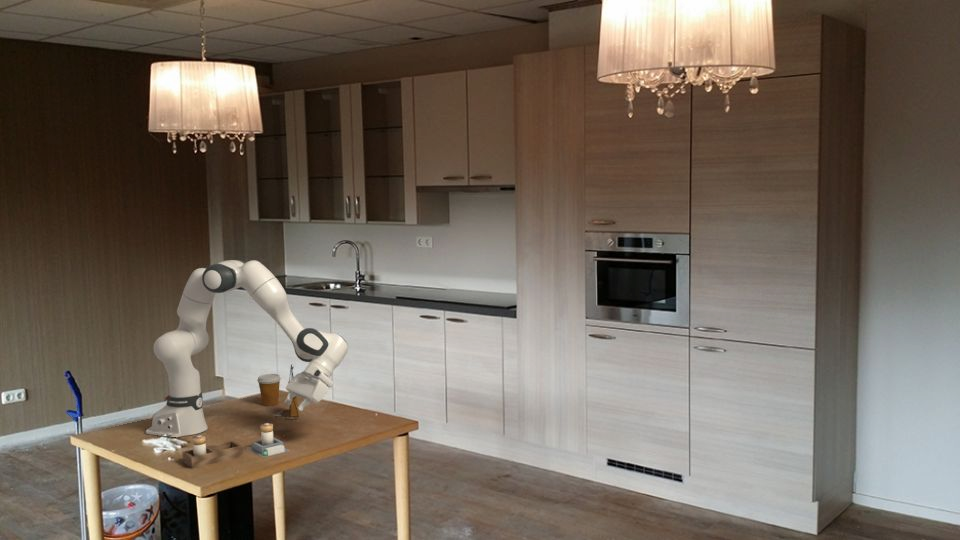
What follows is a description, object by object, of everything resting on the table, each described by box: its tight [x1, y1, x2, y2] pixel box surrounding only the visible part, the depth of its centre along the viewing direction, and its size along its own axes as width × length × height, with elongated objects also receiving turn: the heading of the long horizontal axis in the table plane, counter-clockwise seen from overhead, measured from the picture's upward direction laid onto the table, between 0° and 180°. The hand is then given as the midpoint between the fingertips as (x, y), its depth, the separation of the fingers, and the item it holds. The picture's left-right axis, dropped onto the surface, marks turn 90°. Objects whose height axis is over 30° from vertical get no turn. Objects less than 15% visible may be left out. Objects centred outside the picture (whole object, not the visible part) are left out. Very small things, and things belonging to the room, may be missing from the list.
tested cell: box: [260, 422, 274, 446], centre depth 290 cm, size 4×4×9 cm
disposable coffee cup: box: [256, 373, 282, 407], centre depth 353 cm, size 10×10×12 cm
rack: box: [182, 440, 245, 469], centre depth 282 cm, size 18×8×4 cm, turn 129°
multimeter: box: [274, 364, 299, 421], centre depth 334 cm, size 15×10×20 cm
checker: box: [246, 436, 291, 458], centre depth 290 cm, size 10×14×4 cm
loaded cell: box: [192, 434, 207, 456], centre depth 278 cm, size 4×4×9 cm
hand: (292, 407), depth 295 cm, fingers open, 8 cm apart
